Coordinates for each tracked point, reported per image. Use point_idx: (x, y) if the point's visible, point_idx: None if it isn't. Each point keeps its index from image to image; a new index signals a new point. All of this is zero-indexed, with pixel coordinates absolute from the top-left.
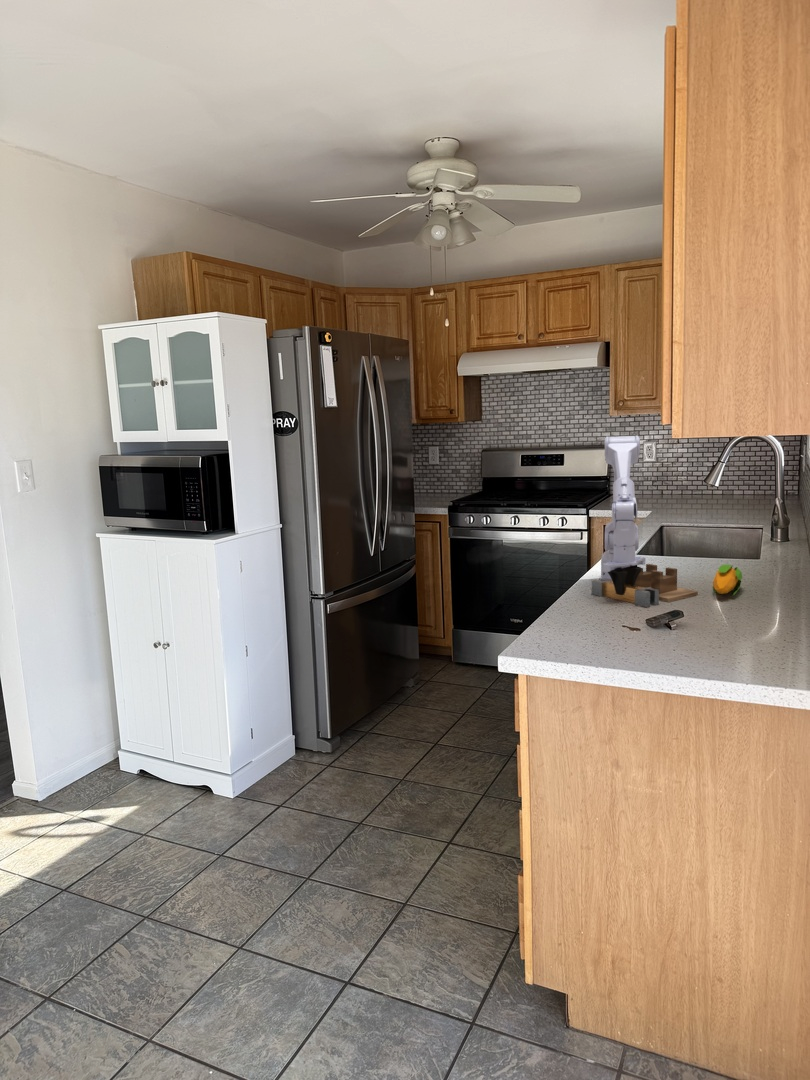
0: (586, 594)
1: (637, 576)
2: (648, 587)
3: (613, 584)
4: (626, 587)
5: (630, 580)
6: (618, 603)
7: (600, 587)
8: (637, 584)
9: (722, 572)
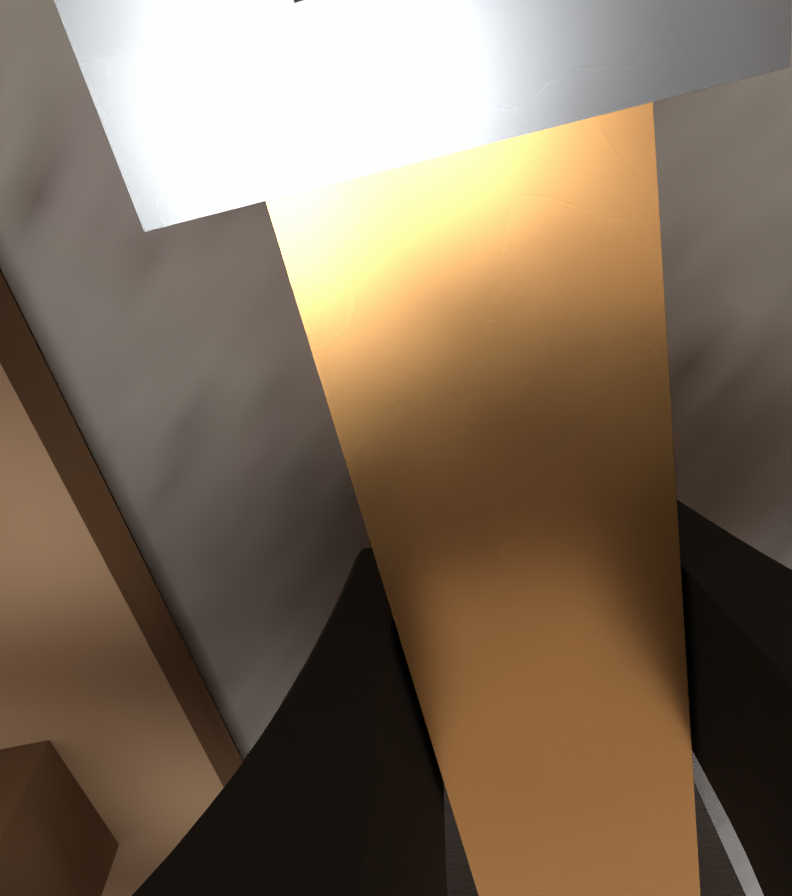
0: (735, 861)
1: (195, 829)
2: (136, 190)
3: (692, 814)
4: (674, 515)
5: (401, 775)
6: (783, 324)
7: (729, 873)
8: (42, 843)
9: None
